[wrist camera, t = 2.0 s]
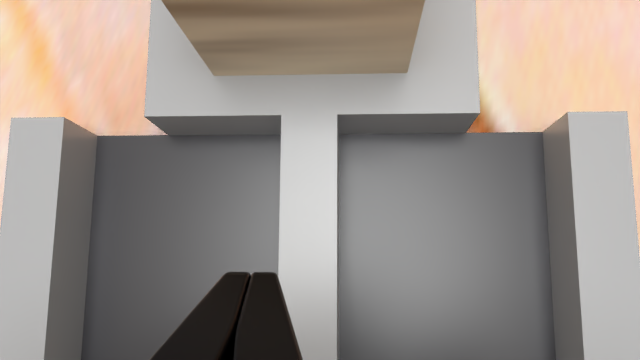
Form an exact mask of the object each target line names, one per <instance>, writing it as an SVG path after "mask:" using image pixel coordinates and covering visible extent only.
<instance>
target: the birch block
mask: <svg viewBox="0 0 640 360" xmlns="http://www.w3.org/2000/svg"><path fill="white" fill-rule="evenodd" d="M161 1H162V2H163V4H164V5H165V7H166V8H167V9H168V11H169V12H170V14H171V15H172V17H173V18H174V19H175V21H176V22H177V24H178V25H179V27H180V28H181V29H182V31H183V32H184V34H185V35H186V37H187V38H188V39H189V41H190V42H191V44H192V45H193V47H194V48H195V50H196V51H197V52H198V54H199V55H200V57H201V58H202V60H203V61H204V62H205V64H206V65H207V67H208V68H209V70H210V71H211V72H212V74H213V75H214V76H242V75H310V74H378V73H407V72H408V68H409V64H410V60H411V56H412V52H413V48H414V44H415V40H416V36H417V31H418V27H419V23H420V19H421V15H422V11H423V7H424V3H425V0H161Z"/></svg>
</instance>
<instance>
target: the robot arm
mask: <svg viewBox="0 0 640 360" xmlns="http://www.w3.org/2000/svg"><path fill="white" fill-rule="evenodd" d="M149 360H303V358H302V355H301V352H300V348H299V345H298V342H297V338H296V335H295V332H294V328H293V325H292V322H291V318H290V315H289V312H288V308H287V305H286V302H285V298H284V295H283V291H282V288H281V285H280V281H279V278H278V275H277V274H276V273H275V272H254V273H253V274H252V275H251V274H250V273H249V272H227V273H225V274H224V275H223V276H222V277H221V278H220V279H219V280H218V281H217V283H216V284H215V285H214V286H213V287H212V288H211V289H210V291H209V292H208V293H207V294H206V295H205V296H204V297H203V299H202V300H201V301H200V302H199V303H198V304H197V305H196V307H195V308H194V309H193V310H192V311H191V312H190V313H189V315H188V316H187V317H186V318H185V319H184V320H183V321H182V323H181V324H180V325H179V326H178V327H177V328H176V329H175V331H174V332H173V333H172V334H171V335H170V336H169V337H168V339H167V340H166V341H165V342H164V343H163V344H162V345H161V347H160V348H159V349H158V350H157V351H156V352H155V353H154V355H153V356H152V357H151V358H150V359H149Z"/></svg>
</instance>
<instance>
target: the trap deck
mask: <svg viewBox="0 0 640 360" xmlns="http://www.w3.org/2000/svg"><path fill="white" fill-rule="evenodd" d="M479 114H480V100H479V75H478V51H477V26H476V1H475V0H425V3H424V7H423V11H422V15H421V19H420V23H419V27H418V31H417V36H416V40H415V44H414V48H413V52H412V56H411V60H410V64H409V68H408V72H407V73H378V74H310V75H242V76H214V75H213V74H212V72H211V71H210V70H209V68H208V67H207V65H206V64H205V62H204V61H203V60H202V58H201V57H200V55H199V54H198V52H197V51H196V50H195V48H194V47H193V45H192V44H191V42H190V41H189V39H188V38H187V37H186V35H185V34H184V32H183V31H182V29H181V28H180V27H179V25H178V24H177V22H176V21H175V19H174V18H173V17H172V15H171V14H170V12H169V11H168V9H167V8H166V7H165V5H164V4H163V2H162V1H161V0H151V14H150V31H149V47H148V64H147V81H146V98H145V114H144V117H146V118H147V119H148V120H150V121H151V122H152V123H153V124H155V125H156V126H157V127H159V128H160V129H161V130H162V131H164V132H165V133H166V134H168V135H153V136H97V135H95V134H93V133H91V132H89V131H88V130H86V129H84V128H82V127H80V126H79V125H77V124H75V123H73V122H72V121H70V120H68V119H66V118H64V117H47V118H11V126H10V136H9V146H8V156H7V166H6V176H5V186H4V196H3V206H2V216H1V227H0V360H149V359H150V358H151V357H152V356H153V355H154V353H155V352H156V351H157V350H158V349H159V348H160V347H161V345H162V344H163V343H164V342H165V341H166V340H167V339H168V337H169V336H170V335H171V334H172V333H173V332H174V331H175V329H176V328H177V327H178V326H179V325H180V324H181V323H182V321H183V320H184V319H185V318H186V317H187V316H188V315H189V313H190V312H191V311H192V310H193V309H194V308H195V307H196V305H197V304H198V303H199V302H200V301H201V300H202V299H203V297H204V296H205V295H206V294H207V293H208V292H209V291H210V289H211V288H212V287H213V286H214V285H215V284H216V283H217V281H218V280H219V279H220V278H221V277H222V276H223V275H224V274H225V273H227V272H249V273H250V274H251V275H252V274H253V273H254V272H275V273H276V274H277V275H278V278H279V281H280V285H281V288H282V291H283V295H284V298H285V302H286V305H287V308H288V312H289V315H290V318H291V322H292V325H293V328H294V332H295V335H296V338H297V342H298V345H299V348H300V352H301V355H302V358H303V360H640V257H639V245H638V233H637V222H636V210H635V198H634V186H633V174H632V163H631V151H630V139H629V127H628V115H627V111H623V112H567V113H566V114H565V115H564V116H562V117H561V118H560V119H559V120H557V121H556V122H555V123H554V124H552V125H551V126H550V127H549V128H547V129H546V130H545V131H544V132H512V133H466V131H467V130H468V129H469V127H470V126H471V125H472V123H473V122H474V121H475V119H476V118H477V116H478V115H479Z"/></svg>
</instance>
